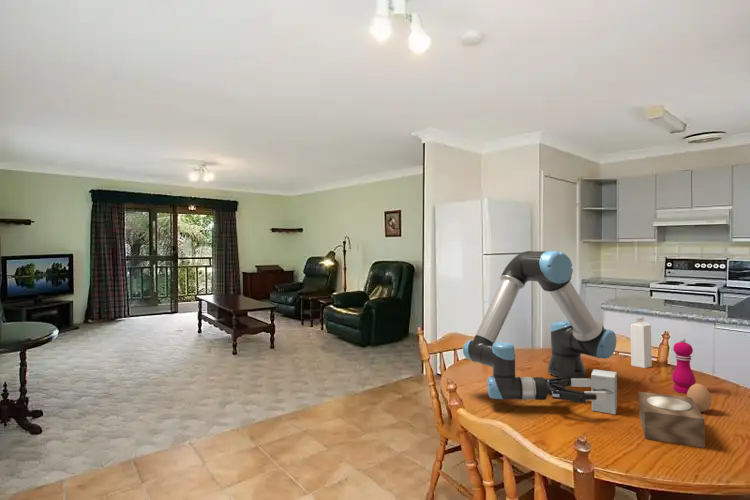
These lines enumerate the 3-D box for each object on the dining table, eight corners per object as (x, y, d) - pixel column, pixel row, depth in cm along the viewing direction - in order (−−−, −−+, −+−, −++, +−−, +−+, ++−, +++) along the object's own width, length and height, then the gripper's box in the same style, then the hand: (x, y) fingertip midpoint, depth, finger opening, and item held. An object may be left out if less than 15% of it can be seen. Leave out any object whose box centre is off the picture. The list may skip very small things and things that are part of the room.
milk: (652, 366, 193) (651, 318, 193) (644, 368, 190) (643, 319, 190) (638, 363, 199) (637, 316, 198) (630, 365, 196) (630, 317, 195)
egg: (687, 406, 147) (687, 379, 147) (712, 410, 142) (711, 383, 142) (686, 412, 142) (685, 384, 141) (711, 416, 137) (711, 388, 137)
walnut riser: (645, 438, 124) (644, 409, 124) (639, 416, 140) (638, 390, 139) (705, 447, 117) (704, 417, 117) (691, 423, 133) (691, 396, 133)
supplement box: (591, 411, 145) (590, 374, 145) (594, 404, 151) (593, 368, 151) (615, 415, 141) (614, 377, 141) (617, 407, 147) (616, 371, 147)
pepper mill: (700, 394, 157) (698, 340, 157) (678, 393, 158) (676, 340, 158) (689, 388, 164) (688, 336, 164) (668, 387, 165) (667, 336, 165)
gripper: (525, 387, 161) (585, 387, 158) (542, 413, 136) (613, 414, 133) (525, 367, 161) (584, 367, 158) (542, 389, 136) (612, 390, 133)
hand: (597, 389), depth 146 cm, fingers open, 13 cm apart
